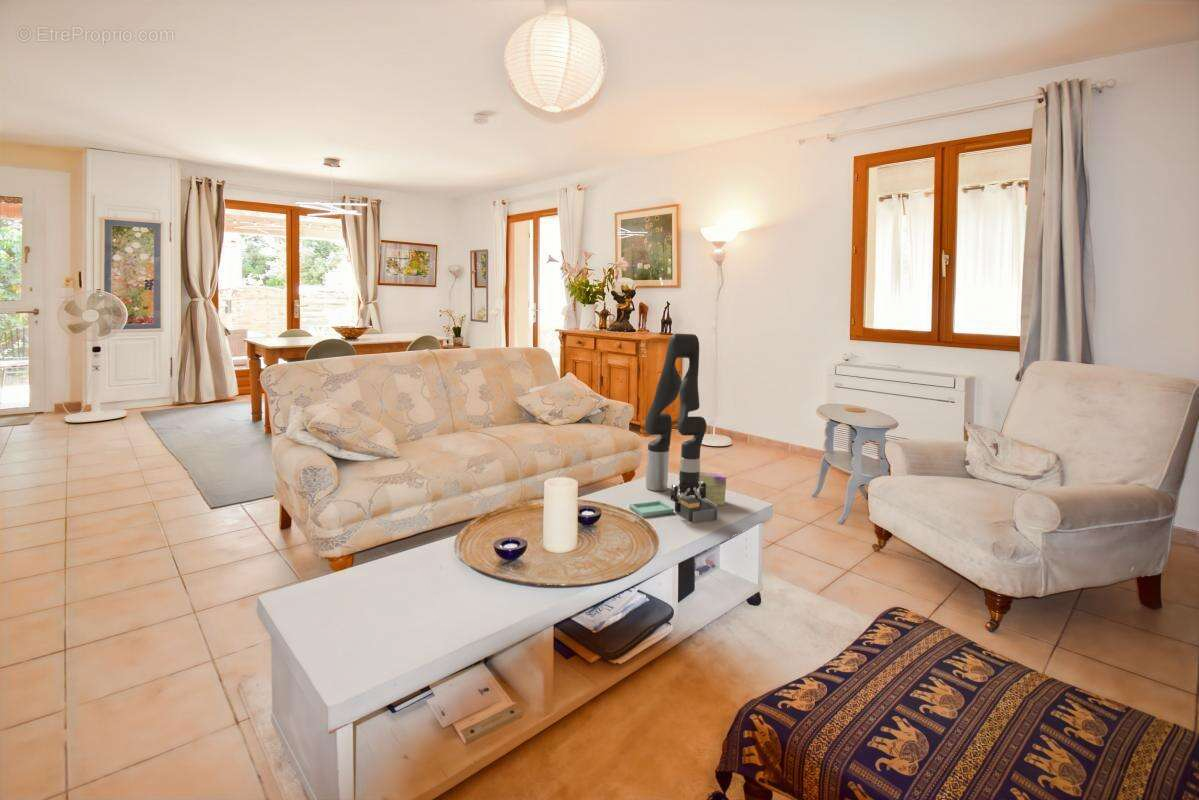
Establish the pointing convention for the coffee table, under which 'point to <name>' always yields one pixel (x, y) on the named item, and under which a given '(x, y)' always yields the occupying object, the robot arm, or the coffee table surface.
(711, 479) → the box
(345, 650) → the coffee table surface
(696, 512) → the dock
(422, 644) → the coffee table surface
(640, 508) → the tray
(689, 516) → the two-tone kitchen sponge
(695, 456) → the robot arm
